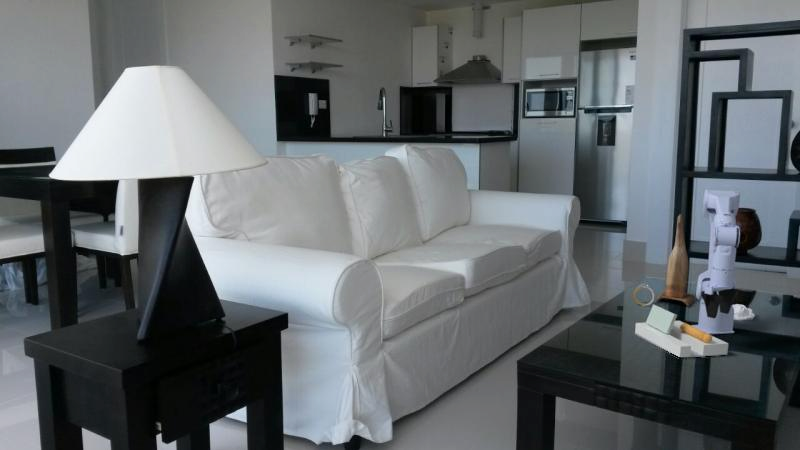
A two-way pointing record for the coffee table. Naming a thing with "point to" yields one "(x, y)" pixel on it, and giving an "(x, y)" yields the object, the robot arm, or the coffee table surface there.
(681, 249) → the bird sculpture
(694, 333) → the orange rounded rod
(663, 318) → the cover
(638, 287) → the ring
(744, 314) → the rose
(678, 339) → the board
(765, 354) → the coffee table surface
